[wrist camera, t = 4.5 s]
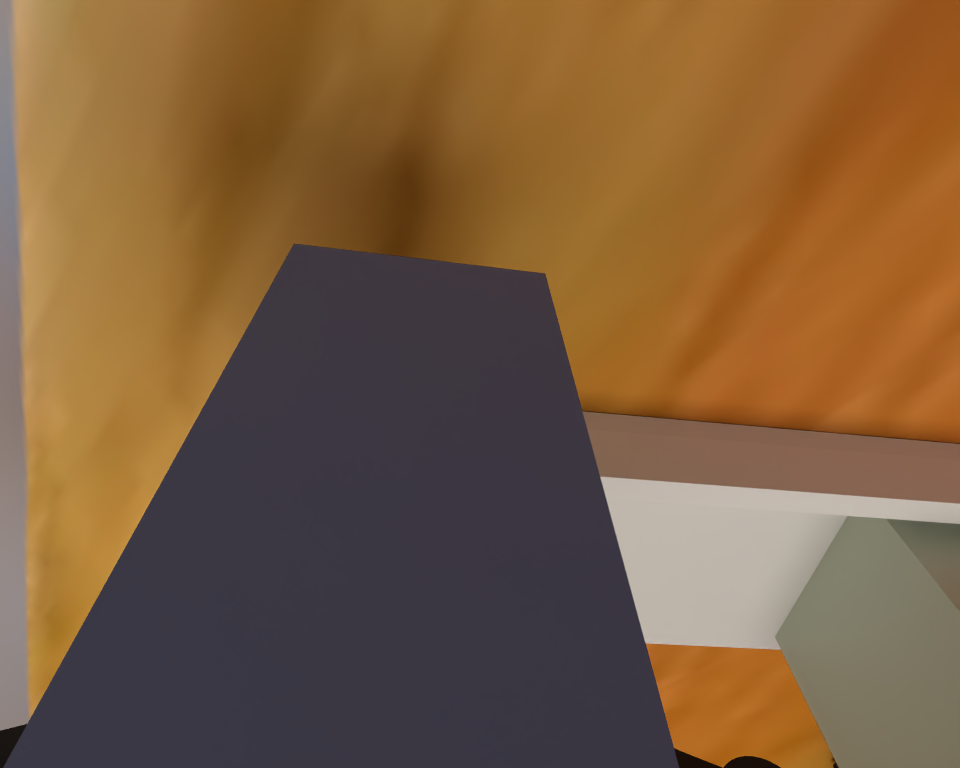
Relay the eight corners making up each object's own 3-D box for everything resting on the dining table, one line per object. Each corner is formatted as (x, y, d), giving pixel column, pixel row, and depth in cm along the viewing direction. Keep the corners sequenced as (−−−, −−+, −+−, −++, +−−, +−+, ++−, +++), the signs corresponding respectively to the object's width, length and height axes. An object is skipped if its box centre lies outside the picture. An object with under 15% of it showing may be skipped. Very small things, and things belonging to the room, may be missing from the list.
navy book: (293, 243, 11) (-391, 1476, 2) (545, 273, 12) (848, 1394, 3) (301, 579, 16) (102, 1383, 7) (477, 591, 17) (502, 1360, 8)
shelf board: (304, 387, 25) (258, 521, 19) (1085, 454, 28) (1257, 585, 22) (308, 606, 32) (275, 755, 26) (936, 638, 35) (1036, 775, 29)
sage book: (862, 490, 27) (1045, 719, 19) (948, 496, 28) (1164, 724, 19) (774, 636, 33) (887, 866, 24) (847, 640, 33) (982, 867, 25)
